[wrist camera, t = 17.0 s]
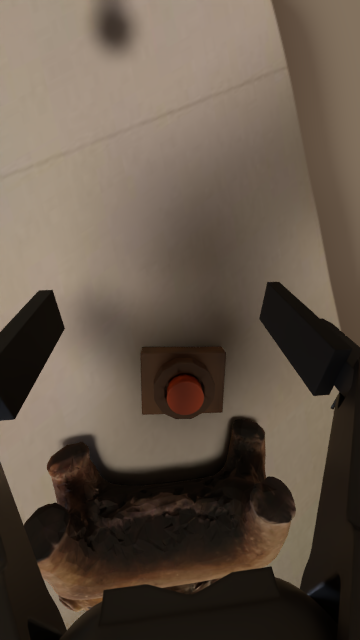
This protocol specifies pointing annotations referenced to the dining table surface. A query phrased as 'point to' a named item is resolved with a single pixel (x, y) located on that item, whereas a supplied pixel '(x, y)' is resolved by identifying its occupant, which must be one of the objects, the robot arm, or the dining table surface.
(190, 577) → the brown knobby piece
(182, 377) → the button
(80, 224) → the dining table surface
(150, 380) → the button block
